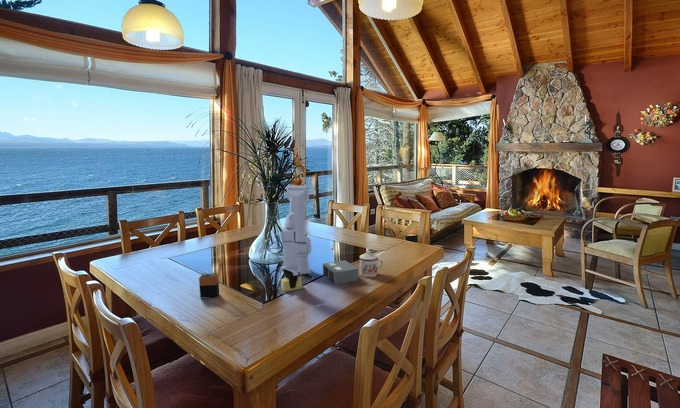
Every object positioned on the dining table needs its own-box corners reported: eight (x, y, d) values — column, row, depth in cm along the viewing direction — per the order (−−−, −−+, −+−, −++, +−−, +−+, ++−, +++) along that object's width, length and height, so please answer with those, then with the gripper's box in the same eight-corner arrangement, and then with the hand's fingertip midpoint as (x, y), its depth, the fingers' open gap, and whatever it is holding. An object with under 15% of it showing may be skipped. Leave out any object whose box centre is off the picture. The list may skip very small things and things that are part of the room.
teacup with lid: (362, 278, 163) (362, 254, 162) (357, 272, 172) (357, 249, 170) (386, 276, 166) (386, 252, 164) (379, 270, 175) (380, 247, 173)
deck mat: (276, 288, 152) (276, 287, 152) (300, 284, 157) (300, 283, 157) (281, 295, 145) (281, 294, 145) (306, 290, 150) (306, 289, 150)
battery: (203, 294, 147) (201, 272, 145) (219, 293, 147) (218, 271, 146) (200, 298, 142) (198, 275, 141) (217, 298, 143) (215, 274, 142)
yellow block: (281, 288, 151) (281, 278, 150) (298, 285, 154) (298, 275, 154) (283, 291, 147) (283, 281, 147) (301, 288, 151) (301, 278, 150)
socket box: (322, 275, 168) (322, 263, 167) (345, 271, 173) (345, 259, 172) (334, 285, 155) (334, 272, 155) (358, 280, 160) (358, 268, 159)
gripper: (277, 252, 154) (278, 281, 156) (286, 262, 141) (287, 293, 143) (292, 250, 156) (293, 279, 158) (302, 259, 143) (303, 290, 145)
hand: (291, 286), depth 151 cm, fingers closed on yellow block, 4 cm apart
